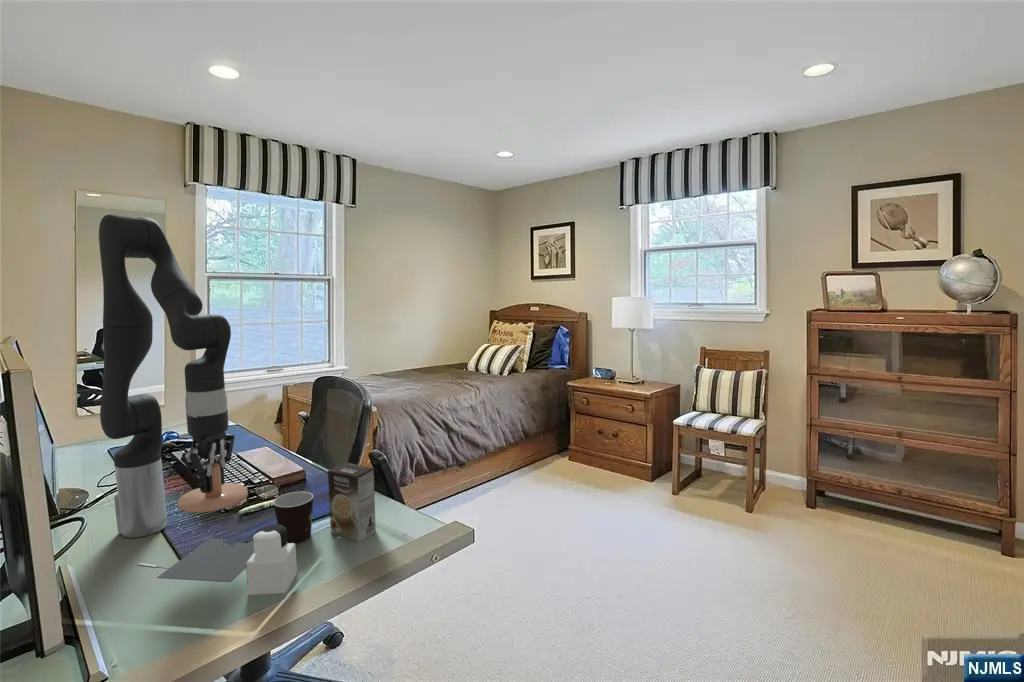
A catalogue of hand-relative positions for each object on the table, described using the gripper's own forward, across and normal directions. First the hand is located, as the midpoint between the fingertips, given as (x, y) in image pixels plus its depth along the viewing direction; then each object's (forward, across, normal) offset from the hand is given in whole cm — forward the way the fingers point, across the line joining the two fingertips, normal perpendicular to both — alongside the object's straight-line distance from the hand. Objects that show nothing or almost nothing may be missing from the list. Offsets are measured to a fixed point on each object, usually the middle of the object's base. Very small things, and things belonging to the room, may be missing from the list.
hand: (212, 488), depth 113 cm
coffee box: (+16, -15, +24) cm, 33 cm away
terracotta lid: (+2, 0, 0) cm, 2 cm away
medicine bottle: (+16, +8, +17) cm, 25 cm away
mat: (+17, 0, 0) cm, 17 cm away
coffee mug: (+17, -12, +12) cm, 24 cm away
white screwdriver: (+17, +5, -7) cm, 19 cm away
